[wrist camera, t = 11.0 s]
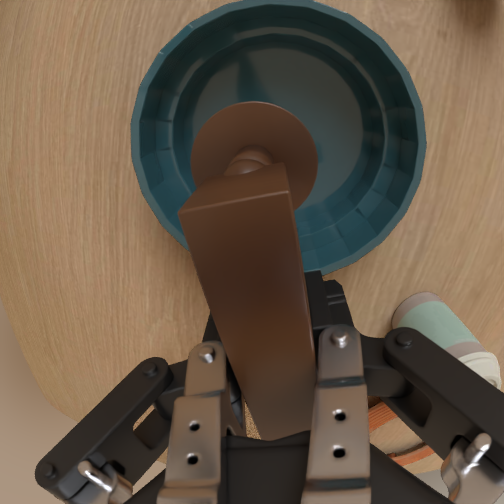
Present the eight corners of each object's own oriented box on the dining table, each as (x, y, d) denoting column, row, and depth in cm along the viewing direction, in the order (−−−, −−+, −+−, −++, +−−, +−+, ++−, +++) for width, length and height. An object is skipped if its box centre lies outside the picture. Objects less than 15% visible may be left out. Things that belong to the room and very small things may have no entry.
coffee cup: (401, 357, 31) (432, 446, 20) (363, 317, 28) (394, 420, 18) (463, 312, 28) (512, 393, 17) (433, 262, 25) (498, 351, 15)
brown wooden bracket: (194, 114, 14) (96, 140, 6) (298, 92, 13) (338, 80, 5) (261, 360, 21) (253, 480, 13) (334, 351, 20) (352, 471, 12)
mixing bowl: (141, 56, 19) (103, 47, 14) (368, 12, 16) (396, -11, 11) (197, 256, 26) (178, 296, 21) (399, 223, 24) (428, 257, 19)
